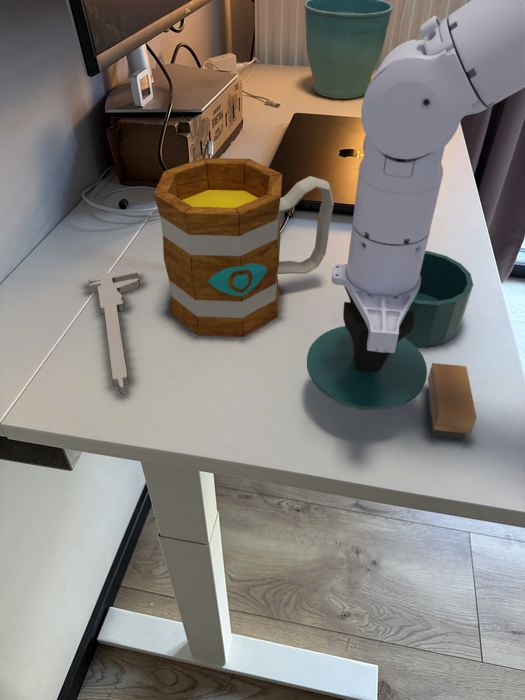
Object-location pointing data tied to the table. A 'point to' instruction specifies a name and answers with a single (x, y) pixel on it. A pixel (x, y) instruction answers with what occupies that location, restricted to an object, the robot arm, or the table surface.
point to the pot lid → (365, 373)
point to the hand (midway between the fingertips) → (367, 357)
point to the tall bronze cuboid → (450, 401)
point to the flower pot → (344, 44)
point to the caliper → (115, 316)
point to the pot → (439, 300)
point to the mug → (230, 242)
